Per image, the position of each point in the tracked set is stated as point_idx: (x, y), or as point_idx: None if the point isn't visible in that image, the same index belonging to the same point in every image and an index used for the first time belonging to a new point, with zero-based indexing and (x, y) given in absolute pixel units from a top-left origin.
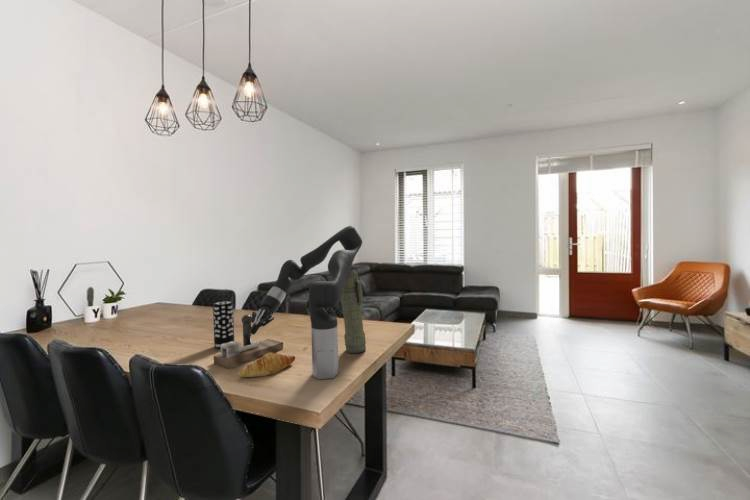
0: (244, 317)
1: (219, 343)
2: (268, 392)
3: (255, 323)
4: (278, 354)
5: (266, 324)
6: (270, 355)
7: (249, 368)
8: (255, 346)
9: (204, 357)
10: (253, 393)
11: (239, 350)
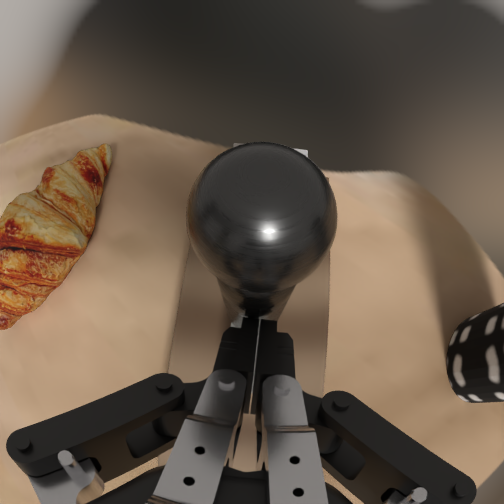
0: (246, 144)
1: (479, 315)
2: (16, 155)
3: (262, 391)
4: (8, 257)
5: (132, 436)
6: (14, 206)
7: (74, 157)
8: None
9: (418, 227)
10: (41, 137)
11: None
